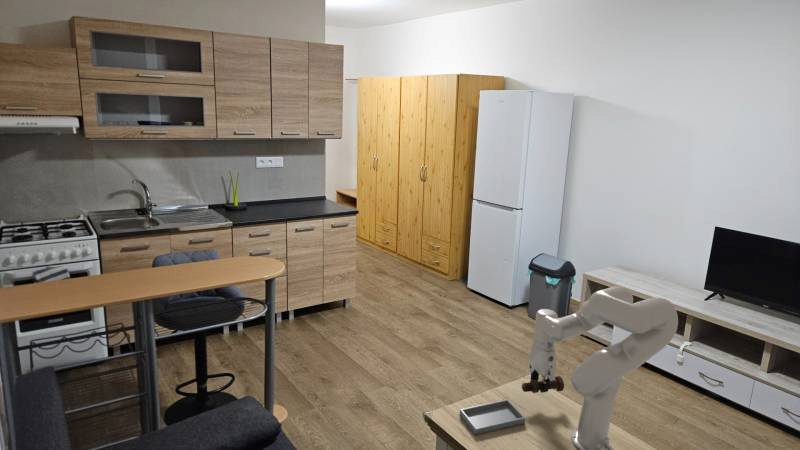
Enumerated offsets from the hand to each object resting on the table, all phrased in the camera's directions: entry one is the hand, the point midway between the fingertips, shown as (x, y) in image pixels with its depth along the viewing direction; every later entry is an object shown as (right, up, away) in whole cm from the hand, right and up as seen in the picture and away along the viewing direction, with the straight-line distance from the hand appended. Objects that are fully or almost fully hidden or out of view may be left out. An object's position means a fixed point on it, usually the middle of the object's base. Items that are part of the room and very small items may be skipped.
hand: (539, 386), depth 195 cm
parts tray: (-19, -9, -8) cm, 23 cm away
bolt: (+1, -2, +1) cm, 2 cm away
